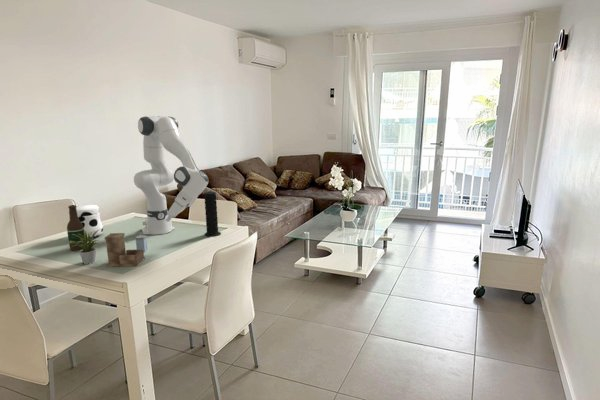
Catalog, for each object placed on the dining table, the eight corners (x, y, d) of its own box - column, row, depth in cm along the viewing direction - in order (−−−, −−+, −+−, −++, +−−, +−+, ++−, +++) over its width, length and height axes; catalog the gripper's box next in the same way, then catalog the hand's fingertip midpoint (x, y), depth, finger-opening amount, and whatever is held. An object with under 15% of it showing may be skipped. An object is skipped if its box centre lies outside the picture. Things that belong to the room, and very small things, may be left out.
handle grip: (218, 236, 225) (223, 232, 234) (215, 192, 219) (220, 189, 229) (201, 236, 226) (207, 231, 235) (198, 192, 220) (204, 189, 230)
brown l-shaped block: (144, 258, 191) (141, 231, 188) (137, 266, 181) (134, 237, 178) (115, 259, 190) (112, 232, 187) (106, 266, 180) (102, 238, 178)
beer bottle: (89, 247, 210) (84, 204, 205) (77, 251, 202) (71, 207, 198) (78, 245, 212) (73, 203, 207) (66, 250, 205) (60, 206, 200)
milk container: (104, 231, 240) (100, 203, 236) (103, 238, 224) (99, 208, 221) (72, 235, 232) (68, 206, 229) (69, 243, 217) (65, 212, 213)
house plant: (93, 254, 197) (89, 224, 194) (112, 258, 192) (109, 226, 189) (67, 264, 184) (62, 231, 181) (87, 268, 179) (83, 234, 176)
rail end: (147, 249, 204) (146, 235, 202) (144, 252, 200) (143, 237, 198) (139, 249, 204) (138, 235, 202) (137, 252, 200) (135, 237, 198)
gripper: (186, 192, 208) (170, 211, 210) (175, 197, 188) (158, 219, 189) (195, 199, 209) (180, 218, 210) (185, 205, 189) (168, 227, 190)
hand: (169, 219), depth 200 cm, fingers open, 8 cm apart
